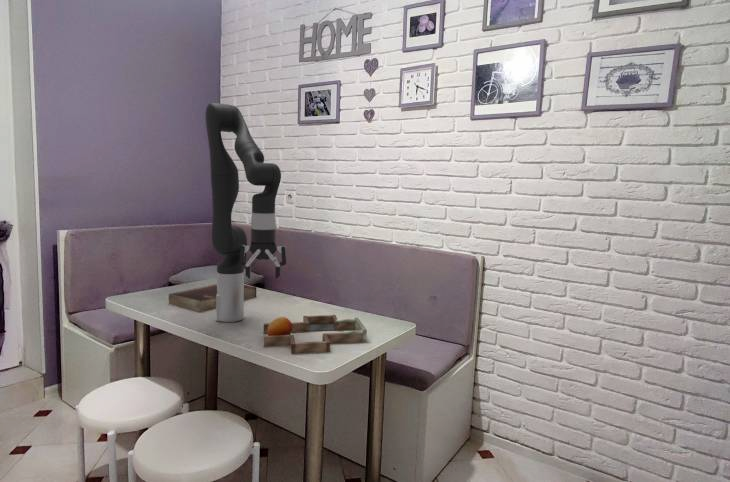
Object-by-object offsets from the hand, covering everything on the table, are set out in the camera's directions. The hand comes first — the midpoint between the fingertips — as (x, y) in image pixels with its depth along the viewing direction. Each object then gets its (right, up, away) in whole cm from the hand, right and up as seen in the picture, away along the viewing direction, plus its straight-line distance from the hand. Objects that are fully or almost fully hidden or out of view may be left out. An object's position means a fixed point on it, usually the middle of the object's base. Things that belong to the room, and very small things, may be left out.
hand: (263, 278), depth 143 cm
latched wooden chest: (-30, -14, +43) cm, 54 cm away
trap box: (+16, -20, +4) cm, 25 cm away
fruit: (+5, -20, +1) cm, 20 cm away
